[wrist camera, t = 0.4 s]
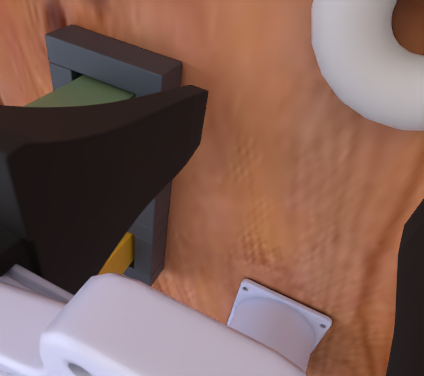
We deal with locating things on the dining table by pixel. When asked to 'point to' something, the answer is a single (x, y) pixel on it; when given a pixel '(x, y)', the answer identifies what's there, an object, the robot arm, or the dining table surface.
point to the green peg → (82, 94)
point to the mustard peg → (120, 256)
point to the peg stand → (140, 85)
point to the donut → (368, 62)
